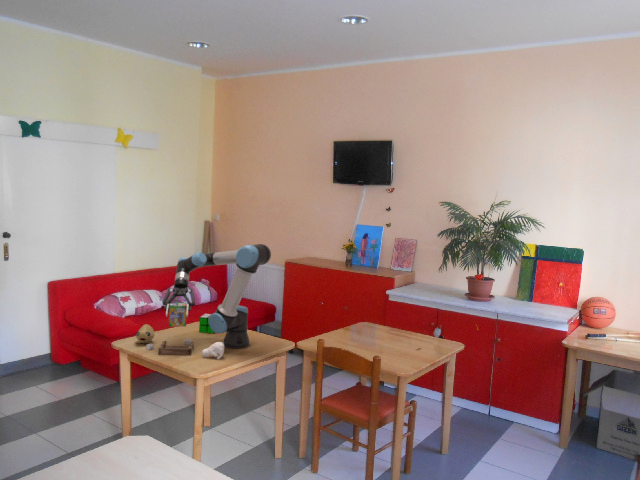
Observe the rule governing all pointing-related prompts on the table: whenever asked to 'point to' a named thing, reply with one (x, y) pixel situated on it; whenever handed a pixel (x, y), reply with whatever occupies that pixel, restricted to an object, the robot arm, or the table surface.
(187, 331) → the table surface
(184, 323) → the chalk box
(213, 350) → the white lumpy piece
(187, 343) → the grey clip
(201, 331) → the puzzle cube
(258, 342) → the table surface
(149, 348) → the grey clip
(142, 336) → the tan toy creature
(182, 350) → the brown tray holder
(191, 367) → the table surface
